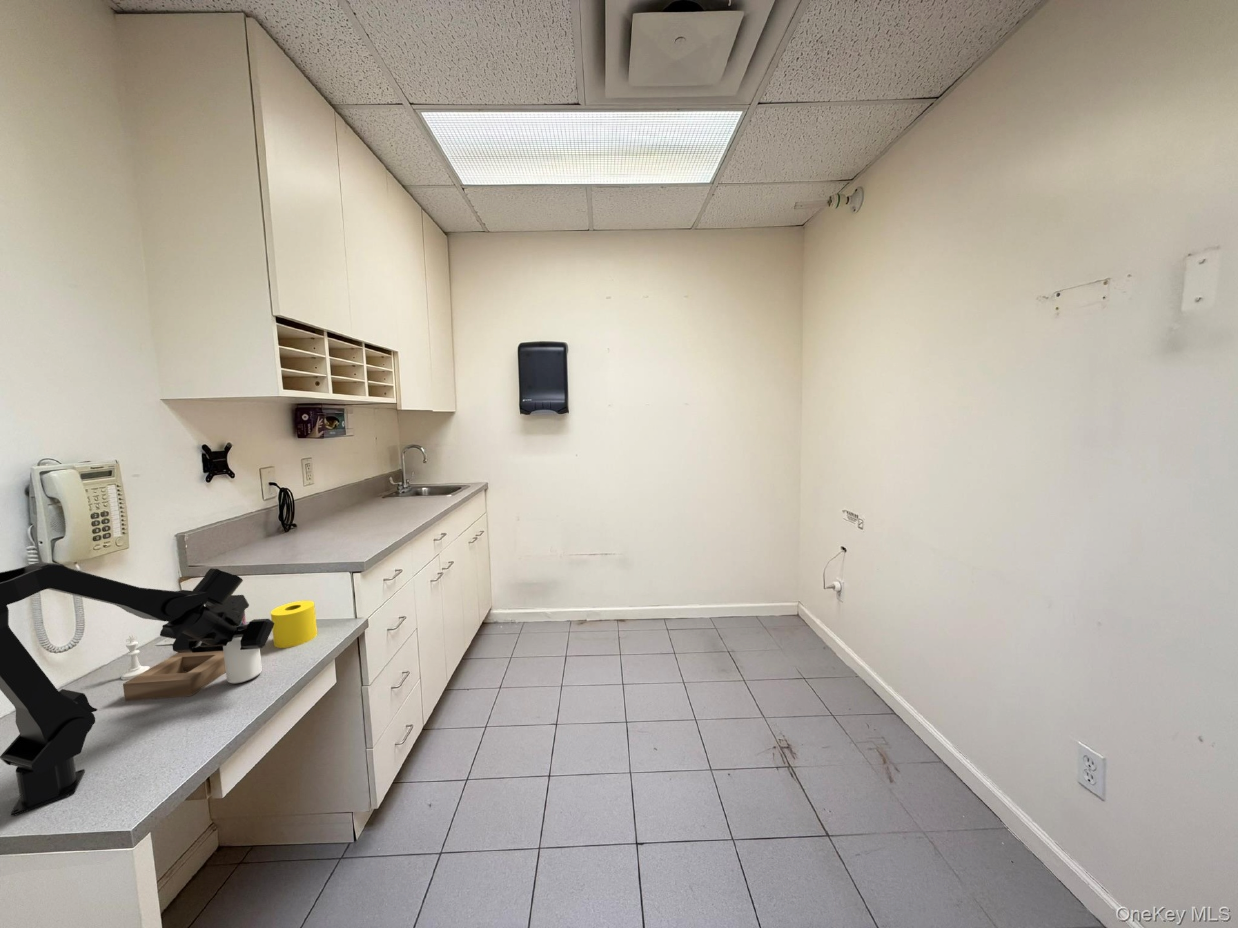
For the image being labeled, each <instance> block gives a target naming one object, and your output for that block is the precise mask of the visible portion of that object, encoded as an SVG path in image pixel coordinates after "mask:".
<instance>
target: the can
mask: <svg viewBox="0 0 1238 928" xmlns="http://www.w3.org/2000/svg"><path fill="white" fill-rule="evenodd" d="M247 624H248V623H246V625H247ZM246 625H241V626H246ZM237 627H238V626H237ZM241 638H242V637H237V638H233V639H232V641H231V642H228V643H227V645H226V646H223V653H224V661H225V668H226V672H225V673H226V681H227V682H228V683H229V684H234V685H235V684H241V683H245V682H247V681H251V680H252V679H255V678H256V677H258V676H259V675H260V674H261V672H262V671H263V666H262V658H261V651H260V650H261V648H260V649H247V650H240V648H241V642H240V641H241Z"/></svg>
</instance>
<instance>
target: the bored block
mask: <svg viewBox="0 0 1238 928" xmlns="http://www.w3.org/2000/svg"><path fill="white" fill-rule="evenodd" d="M225 673H226V668H225V661H224V653H223V651H213V652H198V653H192V652H190V653H178V652H176V653H175V654H173V655H172V656H170V657H167V659H164V660H163V661H160V663H157V664H155V665H154V666H152V667H151V668H150V669H148V670H147V671H145V672H143V673H141V674H140V675H138V676H136V677H134V678H132V679H128V680H127V681H126V682H124V683H123V684H122V687H123V694H124V701H126V702H127V701H139V700H140V701H141V700H153V699H154V700H155V699H166V698H167V699H168V698H178V697H179V698H181V697H191V696H194V695H195V694H197V693H198V692H199V691H201V690H202V689H204V688H205V687H206V686H208V685H210V684H211V683H212V682H214V681H215V680H217V679H218V678H219V677H221V676H222V675H225Z"/></svg>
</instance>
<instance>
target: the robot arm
mask: <svg viewBox="0 0 1238 928" xmlns="http://www.w3.org/2000/svg"><path fill="white" fill-rule="evenodd" d="M242 582H244V579H243V578H242V577H240V576H238V575H236V574H232V573H229V572H226V571H223V570H221V569H219V568H212V567H211V568H209V569H208V571H207V572H206V573H205V575H204V576H203V577H202V579H201V580H200V581H199V582H198V583H197V584H196V586H195V587H194V588H193V589H192V590H186V589H182V590H165V589H158V588H156V589H155V588H148V587H146V588H145V587H139V586H135V585H131V584H129V583H124V582H121V581H117V580H114V579H110V578H106V577H102V576H99V575H96V574H92V573H88V572H85V571H81V570H77V569H73V568H70V567H67V566H66V565H64V564H61V563H55V562H54V563H53V562H44V561H43V562H34V563H32V564H30V565H29V564H28V565H25V566H22V567H19V568H16V569H15V568H14V569H9V570H5V571H1V572H0V691H1V692H2V694H4V696H5V697H6V698H7V699H8V701H9V703H11V704H12V705H13V706H14V708H15V725H16V727H17V729H18V732H19V734H18V735H17V737H15V739H14V740H12V742H11V743H10V745H8V746H7V748H6V749H5V750H4V751H3V752H2V753H1V754H0V760H2V762H4V763H5V764H6V765H8V766H12V767H13V766H14V767H16V768H15V775H16V779H17V780H16V782H17V786H18V791H19V792H18V793H19V799H18V800H17V802H16V803H15V805H14V807H13V808H12V810H11V812H10V816H11V815H14V816H16V815H15V814H17V815H19V814H22V813H25V812H27V810H28V811H31V810H33V809H36V808H39V807H42V806H44V805H47V804H49V803H52V802H55V801H58V800H61V799H63V798H66V797H68V796H71V795H73V794H75V793H76V791H77V790H78V787H79V785H80V783H81V782H82V779H83V777H84V775H85V773H86V770H85V769H84V768H83V769H79V770H77V771H76V766H75V765H76V763H75V758H74V757H76V756H78V755H79V754H81V753H82V750H83V747H84V743H85V741H86V738H87V735H88V733H89V732H90V731H91V730H92V728H93V727H94V724H96V717H95V715H94V713H95V712H97V711H98V708H95V707H94V706H92V705H91V703H89V700H88V697H87V695H86V694H85V693H84V692H79V691H74V690H70V689H65V688H64V689H63V688H62V689H60V690H58V689H57V688H56V686H55V685H54V684H53V682H52V681H51V680H50V678H49V677H48V676H47V675H46V673H45V672H44V671H43V669H42V668H41V667H40V665H39V664H38V663H37V662H36V660H35V659H34V658H33V656H32V655H31V654H30V653H29V651H28V650H27V649H26V647H25V645H24V644H23V643H22V642H21V641H20V639H19V638H18V637H17V635H16V634H15V633H14V632H13V630H12V629H11V627H10V625H9V620H10V619H9V618H10V616H9V615H10V614H9V613H10V612H9V607H8V605H11V604H15V603H17V602H20V601H22V600H24V599H27V598H29V597H31V596H34V595H35V594H37V593H40V592H42V591H45V590H49V591H55V592H58V593H63V594H67V595H72V596H76V597H81V598H84V599H89V600H92V601H98V602H101V603H106V604H110V605H114V606H116V607H118V608H120V609H122V610H123V611H125V612H127V613H129V614H131V615H134V616H136V617H138V618H141V619H145V620H151V621H159V622H167V623H164V624H163V625H162V628H161V629H160V633H159V636H160V637H163V638H169V639H174V641H173V643H172V646H171V647H172V651H173V652H176V653H190V652H192V653H198V652H213V651H223V646H226V645H227V643H228V642H231V641H232V639H233V638H237V637H242V638H241V641H240V642H241V648H240V650H247V649H260V650H261V649H262V648H264V647H265V646H266V644H267V642H268V639H269V637H270V635H271V634H272V633H271V632H273V630H272V628H273V626H274V622H273V621H272V620H271V618H258V619H257V618H256V619H253V620H250V621H249V622H248V623H246V624H247V625H246V626H238V627H236V625H238V624H239V623H240V621H241V619H240V618H238V617H239V616H240V615H241V614H242V613H243V612H244V610H247V608H249V606H250V604H249V603H248V600H247V598H246V597H245V595H244V594H234V593H235V592H236V590H237V589H238V588H239V587H240V586H241V584H242ZM233 594H234V595H233Z"/></svg>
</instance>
